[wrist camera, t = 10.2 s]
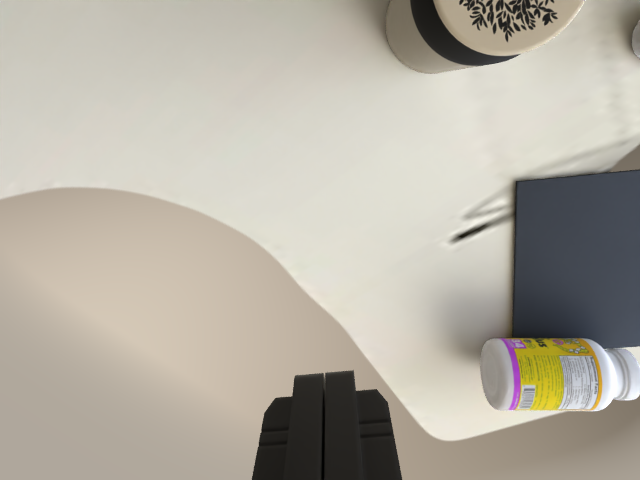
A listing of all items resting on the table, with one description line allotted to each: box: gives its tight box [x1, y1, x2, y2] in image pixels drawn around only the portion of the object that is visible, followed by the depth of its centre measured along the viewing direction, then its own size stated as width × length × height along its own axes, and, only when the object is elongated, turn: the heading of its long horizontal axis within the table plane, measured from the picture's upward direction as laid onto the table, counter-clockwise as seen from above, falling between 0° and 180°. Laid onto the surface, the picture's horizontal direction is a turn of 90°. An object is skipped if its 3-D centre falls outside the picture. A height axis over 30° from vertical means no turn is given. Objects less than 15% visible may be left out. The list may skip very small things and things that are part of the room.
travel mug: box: [386, 0, 585, 74], centre depth 29 cm, size 8×8×18 cm
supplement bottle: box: [480, 338, 640, 411], centre depth 44 cm, size 7×7×13 cm
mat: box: [512, 170, 640, 349], centre depth 44 cm, size 18×14×1 cm
